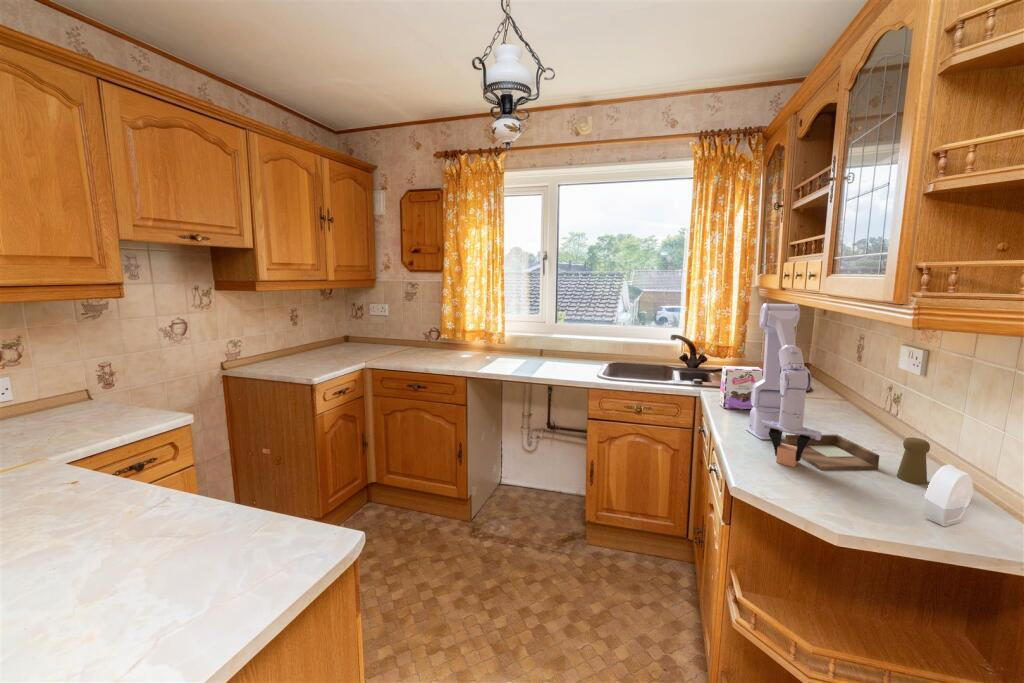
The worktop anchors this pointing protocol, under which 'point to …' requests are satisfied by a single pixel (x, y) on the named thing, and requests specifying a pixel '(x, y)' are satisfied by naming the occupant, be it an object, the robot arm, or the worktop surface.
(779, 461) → the cube
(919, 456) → the cork
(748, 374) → the candy box
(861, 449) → the arena
